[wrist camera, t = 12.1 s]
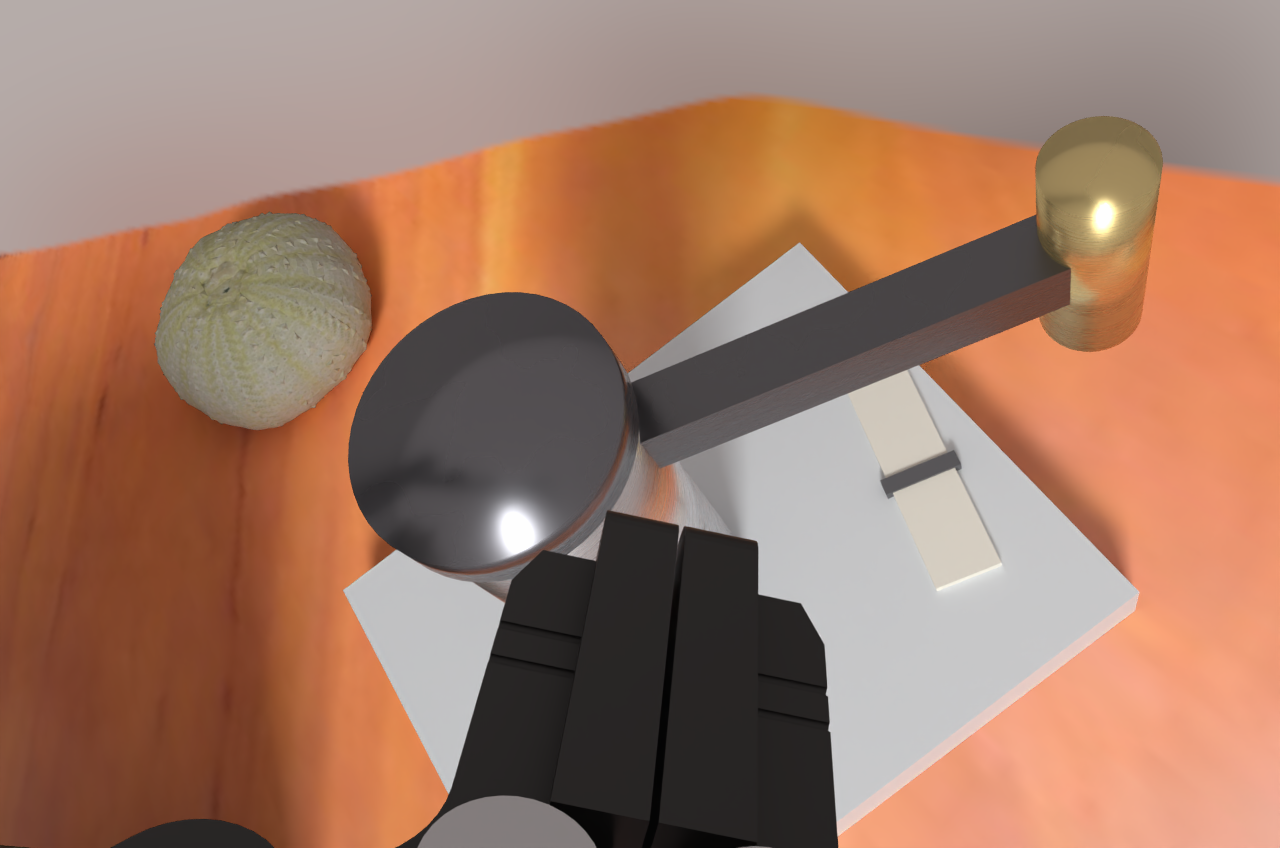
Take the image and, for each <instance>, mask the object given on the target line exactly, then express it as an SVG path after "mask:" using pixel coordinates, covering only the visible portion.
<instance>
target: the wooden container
mask: <svg viewBox="0 0 1280 848" xmlns="http://www.w3.org/2000/svg"><path fill="white" fill-rule="evenodd" d="M0 848H27V847H16V846H4V845H0Z"/></svg>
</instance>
